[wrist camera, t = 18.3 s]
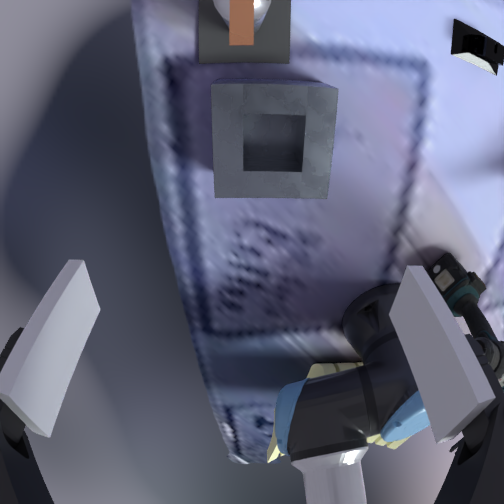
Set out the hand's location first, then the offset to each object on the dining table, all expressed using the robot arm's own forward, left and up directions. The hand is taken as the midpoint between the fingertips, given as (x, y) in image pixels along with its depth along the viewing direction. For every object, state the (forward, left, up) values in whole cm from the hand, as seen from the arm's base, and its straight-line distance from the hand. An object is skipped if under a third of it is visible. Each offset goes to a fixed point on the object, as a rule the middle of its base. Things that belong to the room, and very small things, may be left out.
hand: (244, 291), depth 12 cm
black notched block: (+15, -31, -29) cm, 45 cm away
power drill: (-22, -34, -29) cm, 49 cm away
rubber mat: (+13, 0, -28) cm, 31 cm away
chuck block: (0, -3, -28) cm, 29 cm away
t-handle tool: (+13, 0, -28) cm, 31 cm away
